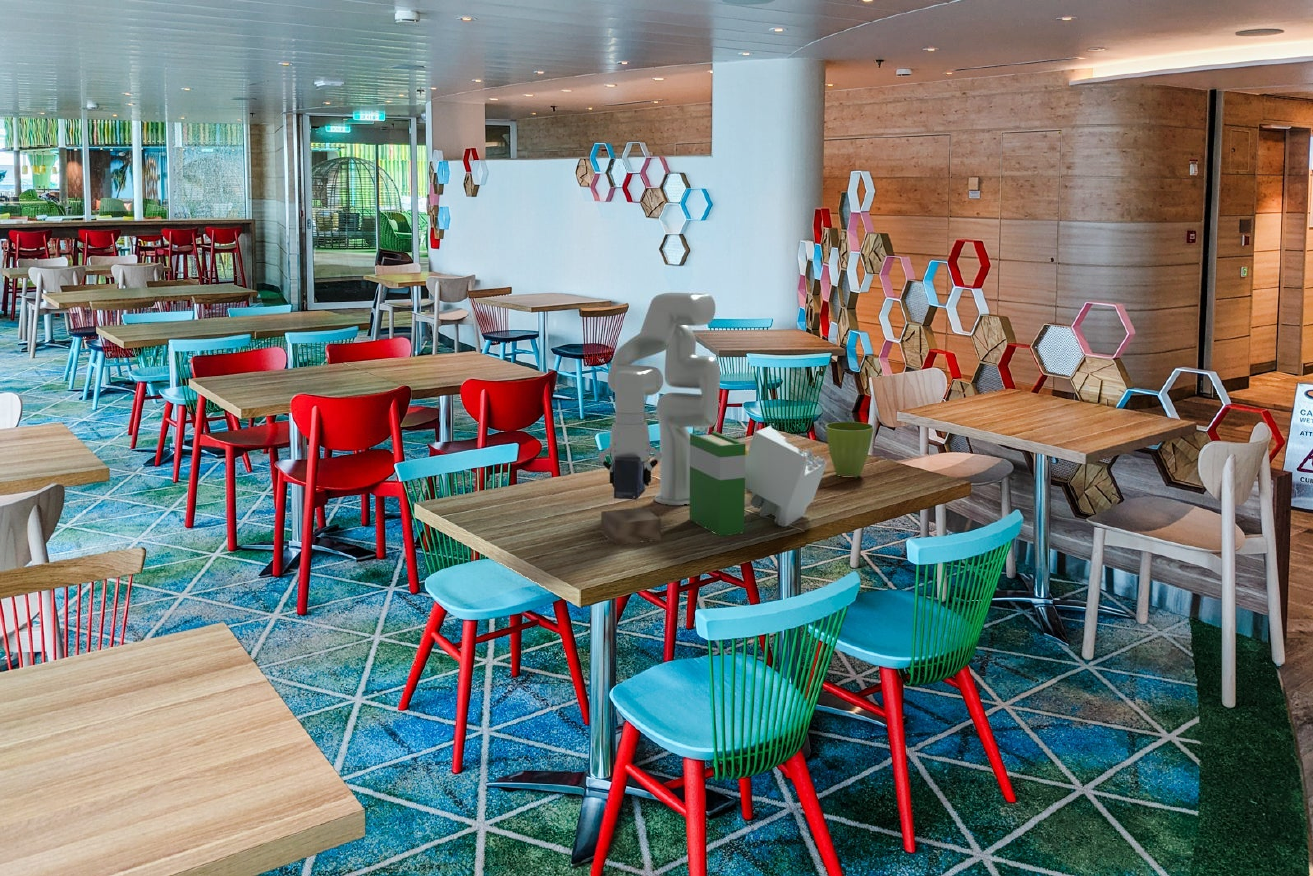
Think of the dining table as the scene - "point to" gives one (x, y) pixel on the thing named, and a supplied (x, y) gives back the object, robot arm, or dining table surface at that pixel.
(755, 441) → the white toy brick
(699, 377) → the robot arm
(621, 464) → the small box
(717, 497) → the hardback book
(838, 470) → the flower pot
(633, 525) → the walnut block
